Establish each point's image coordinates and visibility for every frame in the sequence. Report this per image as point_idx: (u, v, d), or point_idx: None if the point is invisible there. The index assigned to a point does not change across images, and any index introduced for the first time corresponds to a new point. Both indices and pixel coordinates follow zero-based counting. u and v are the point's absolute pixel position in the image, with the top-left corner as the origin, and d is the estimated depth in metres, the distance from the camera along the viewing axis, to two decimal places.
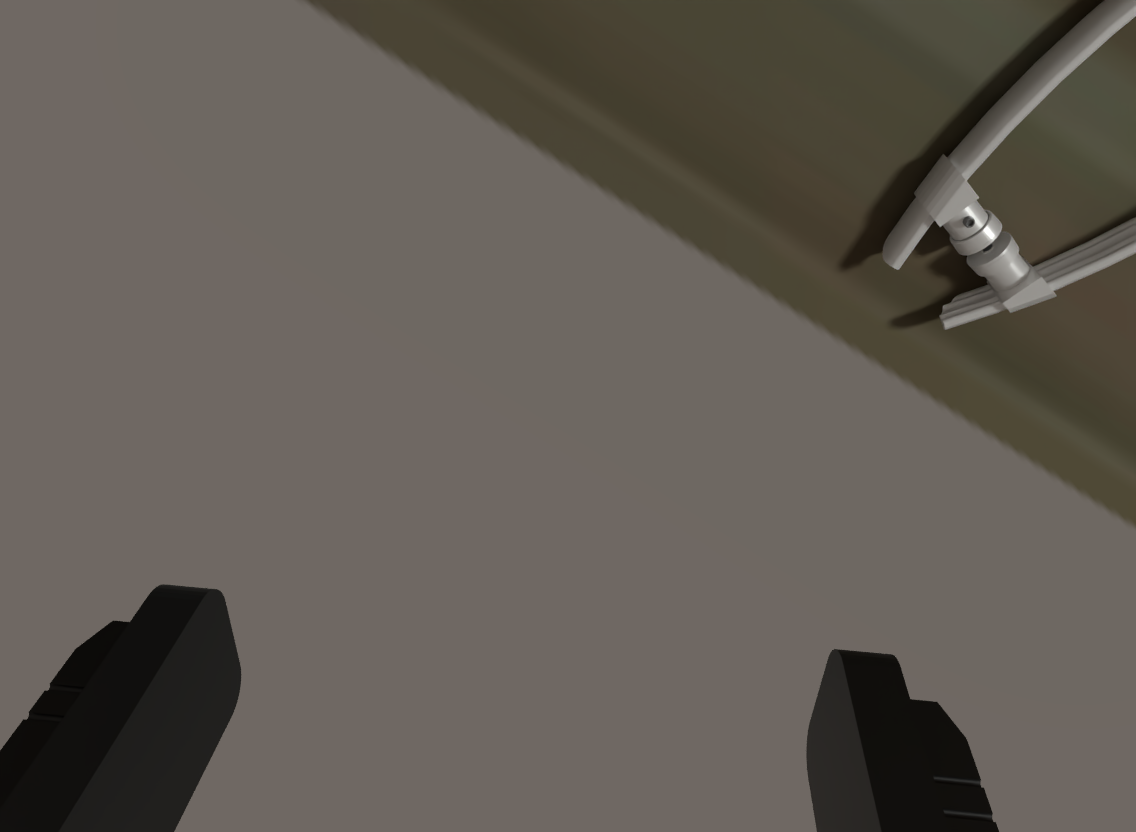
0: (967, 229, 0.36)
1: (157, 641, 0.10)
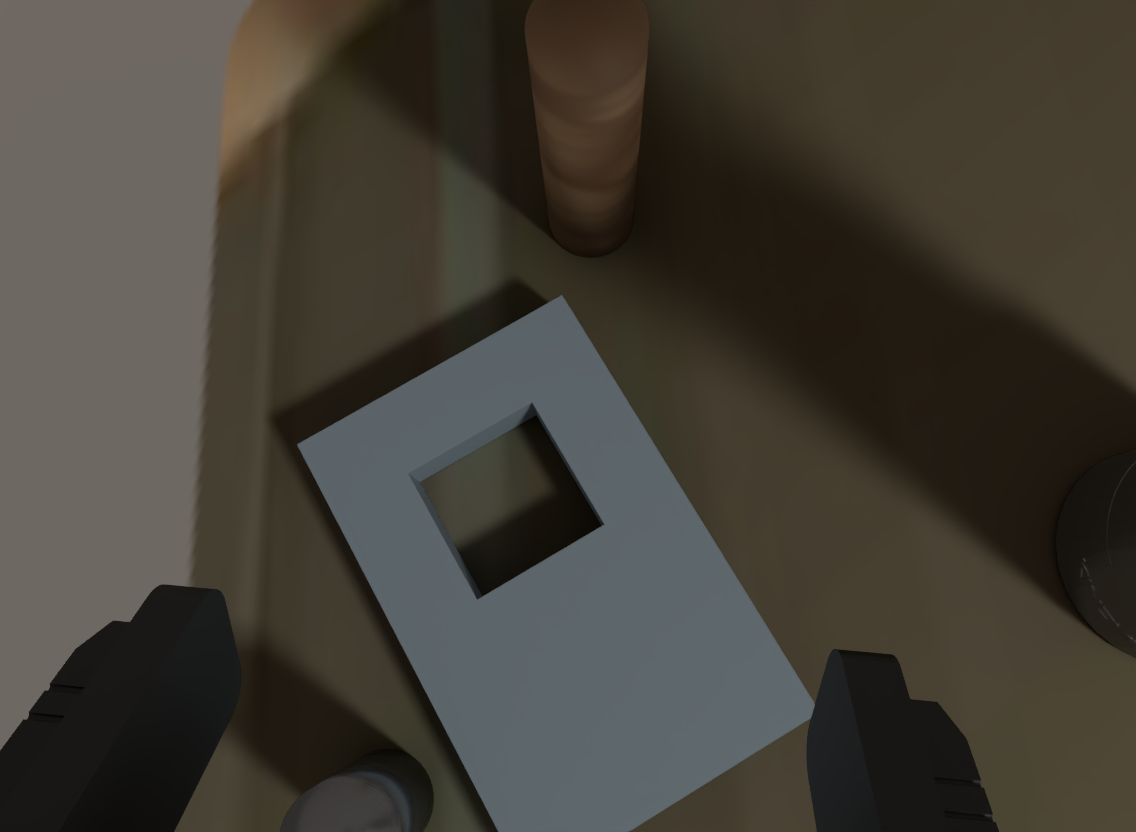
0: None
1: (157, 641, 0.10)
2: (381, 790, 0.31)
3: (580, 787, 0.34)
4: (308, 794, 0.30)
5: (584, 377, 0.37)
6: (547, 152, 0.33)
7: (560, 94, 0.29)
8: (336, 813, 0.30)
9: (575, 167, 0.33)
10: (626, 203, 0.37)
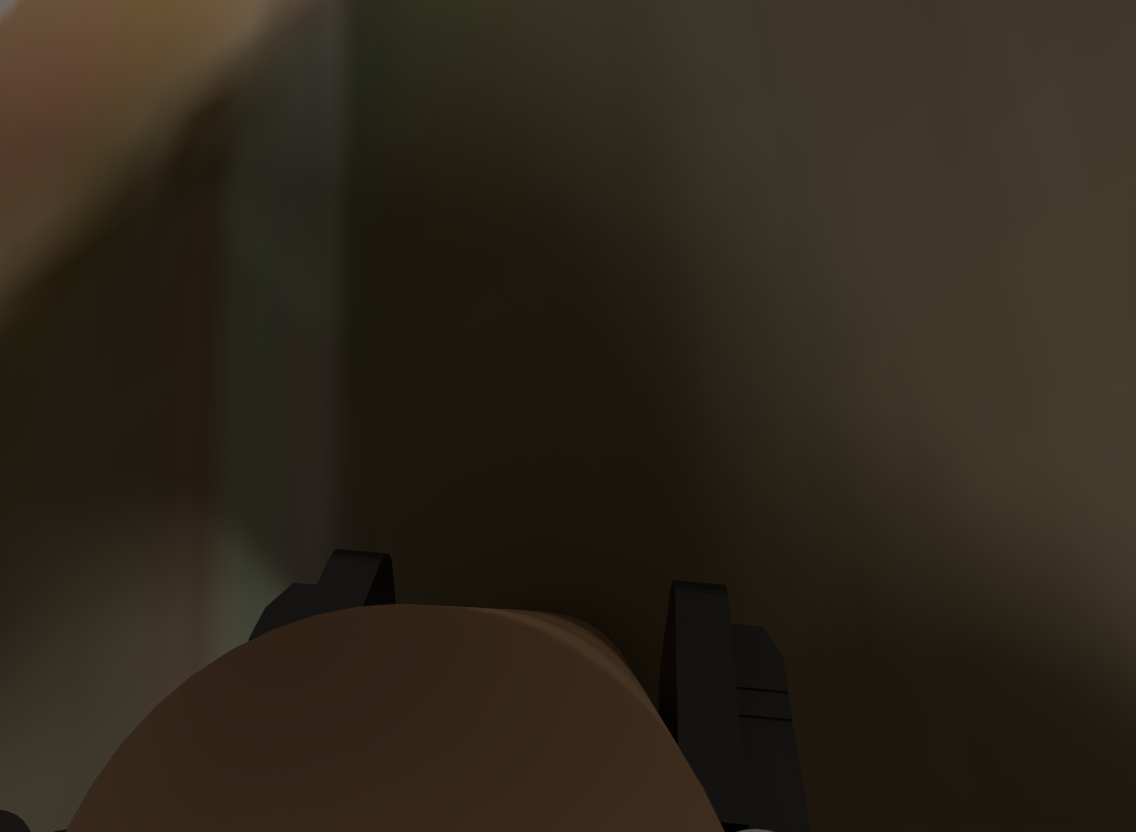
0: None
1: (348, 599, 0.11)
2: None
3: None
4: None
5: None
6: None
7: None
8: None
9: None
10: None
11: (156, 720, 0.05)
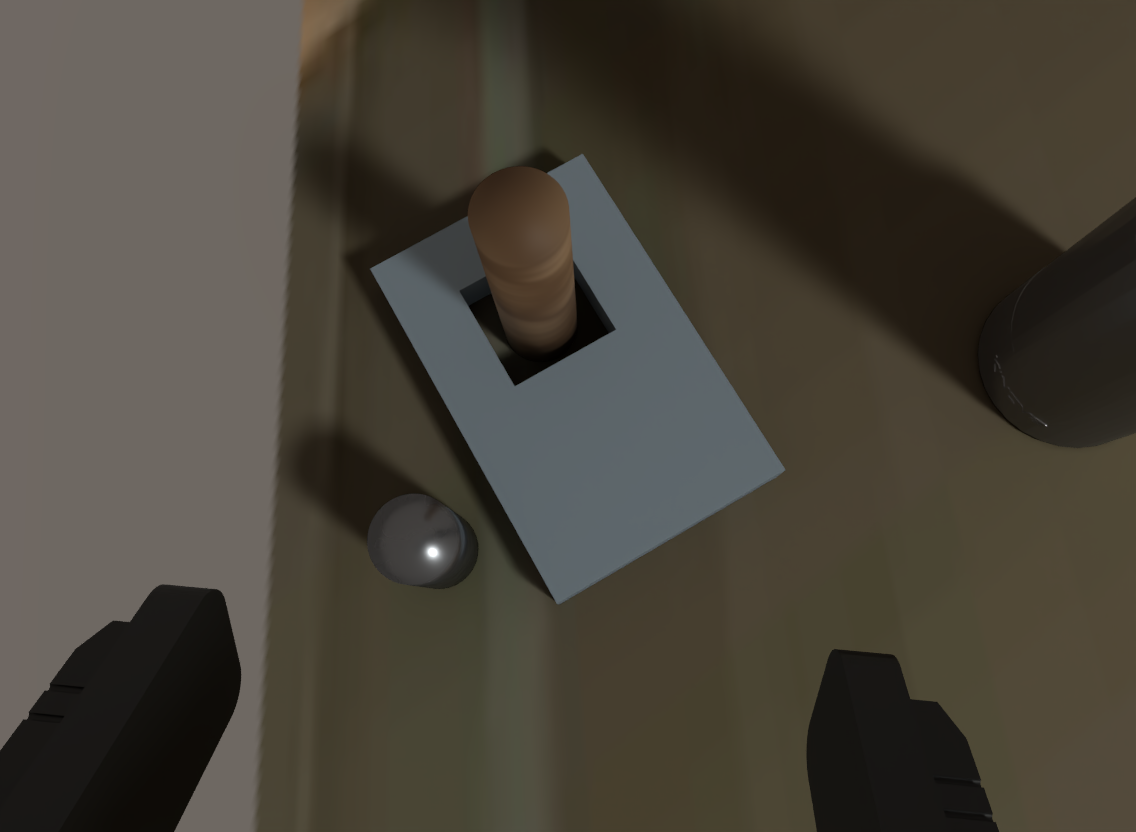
0: None
1: (157, 641, 0.10)
2: (444, 505, 0.40)
3: (596, 526, 0.43)
4: (390, 503, 0.39)
5: (600, 217, 0.47)
6: (494, 293, 0.40)
7: (497, 265, 0.35)
8: (412, 517, 0.39)
9: (516, 307, 0.39)
10: (566, 324, 0.44)
11: (483, 181, 0.35)
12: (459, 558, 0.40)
